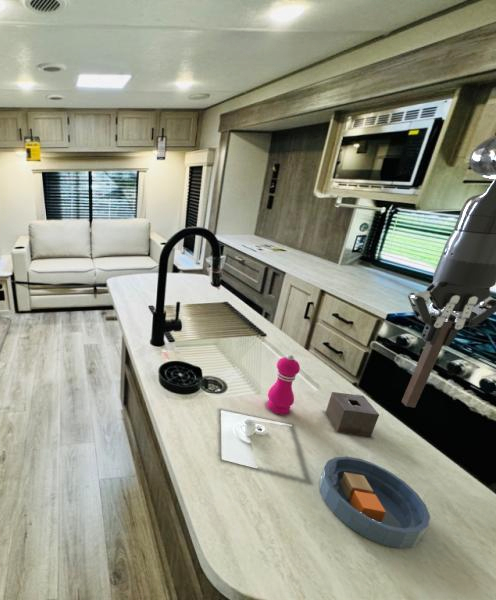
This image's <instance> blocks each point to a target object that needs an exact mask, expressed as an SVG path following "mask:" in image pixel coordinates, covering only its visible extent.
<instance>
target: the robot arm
mask: <svg viewBox="0 0 496 600" xmlns="http://www.w3.org/2000/svg"><path fill="white" fill-rule="evenodd" d="M469 167H470V169H471V171H473V172H474V173H475V174H477V175H478V176H481V177H483V178H489V179H493V181H491V183H490V185H489V186H488V188H487V189H486V190H485V192H483V193H480V194H476V195H472V196H471V197H468V198H467V200H465V202H464V204H463V205H462V208H461V210H460V212H459V215H458V216H457V217H458V218H457V220H456V222H455V225H454V227H453V229H452V231H451V233H450V235H449V237H448V238H447V240H446V242H445V244H444V247H443V249H442V252H441V255H440V256H439V259H438V262H437V265H436V267H435V270H434V272H433V275H432V276H433V277H432V282H431V284H429V285H428V286H427V287H426V290H424V291H420V292H418V293H415V292H409V293H408V295H407V298H408V301H409V304H410V306H411V309H412V311H413V314H414V317H415V319H417V320H419V321H421V322H422V323H424V324H425V325H424V328H423V330H422V333H421V335H420V337H421V339H422V341H423V342H425V344H426V343H427V344H431V345H434V344H435V342H436V340H437V338H438V336H439V333H440V331H441V329H442V328H440V327H441V326H442V325H443V323H444V321H445V319H448V320H450V321H452V322H453V324H452V326H451V328H450V330H449V332H448V335H447V337H446V339H445V341H444V344H443V346H442V347H449V346H450V345H451V344H452V343H454V341H455V339H456V337H457V334H458V332H459V331H460V330H462V329H463V328H466V327H467V328H470V329H471V328H475V327H477V326H478V325H480V324H481V323H482V322H484V321H486V320H487V319H488V318H489V317H491V316H492V315H494V314H495V313H496V298H494V297H492V296H491V288H492V287H494V286H495V285H496V134H495V135H492V136H490V137H488V138H487V139H485V140H483V141H482V142H480V143H479V144H478V145H477V146H476V147H475V148H474V149H473V151H472V152H471V154H470V156H469ZM429 301H430V304H429ZM427 304H429V307H428V306H427Z"/></svg>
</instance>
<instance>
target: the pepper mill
mask: <svg viewBox="0 0 496 600" xmlns="http://www.w3.org/2000/svg"><path fill="white" fill-rule="evenodd" d="M276 368H277V371H276V377H277V378H276V381H275V383H274V384H273V385H272V386H271V387H270V388H269V389H268V393H267V398H268V400H267V406H266V407H267V408H268V409H269V410H270V411H271V412H273V413H275V414H277V415H280V416H281V415H282V416H285V415H288V414H289V413H290V411H291V406H292V405H294V403H295V394H294V391H293V382H294V381H295V380H296V377H297V375H298V374H299V372H300V370H301V366H300V362H298V361H297V360H296V359H295V356H294V355H293V354H291V353H290V354H287V356H286V357H285V356H284V357H281V358H279V359H278V360H277V363H276Z"/></svg>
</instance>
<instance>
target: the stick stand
mask: <svg viewBox="0 0 496 600" xmlns="http://www.w3.org/2000/svg"><path fill="white" fill-rule="evenodd" d="M325 414H326V415H327V417H328V419H329V421H330V422H331V424H332V426H333V427H334V428H335V430H336V432H337V433H342V434H348V435H355V436H362V437H369V438H371V437H372V434H373V432H374V430H375V427H376V424H377V422H378V420H379V417H380V414H379V412H378V411H377V410H376V409H375V407H374V406H373V405H372V404H371V402H369V400H368V399H367V398H366V397H365V396H364V395H361V394H353V393H344V392H335V391H331V394H330V397H329V400H328V403H327V406H326V410H325Z"/></svg>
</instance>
